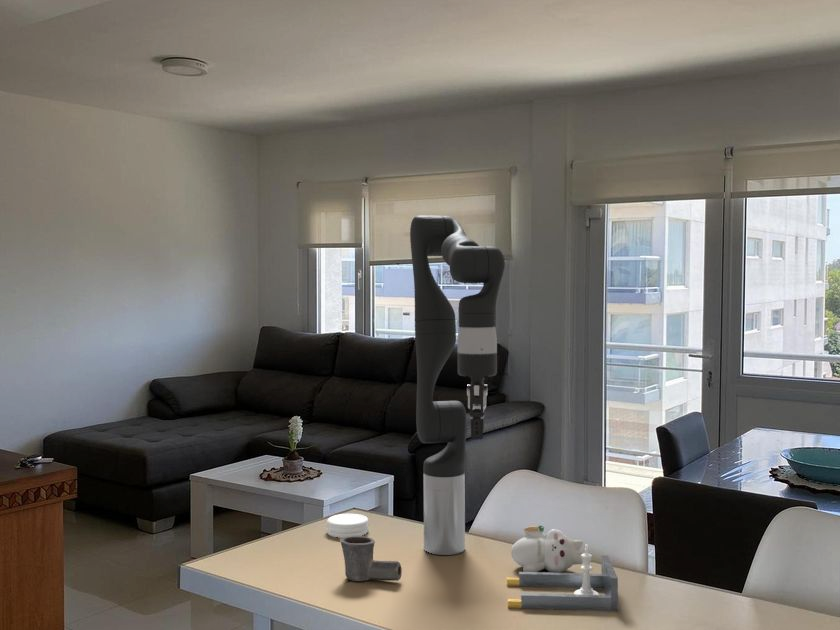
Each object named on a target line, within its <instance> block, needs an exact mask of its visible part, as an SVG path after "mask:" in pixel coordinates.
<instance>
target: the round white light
mask: <svg viewBox="0 0 840 630" xmlns="http://www.w3.org/2000/svg"><path fill="white" fill-rule="evenodd" d="M369 526H370V525H369V518H368V517H367V516H365V515H364V514H361V513H359V514H358V513H339V514H335V515H334V514H333V515H332V516H330V517H328V518H327V519H326V533H327V535H328V536H330V537H332V538H336V537H338V539H341V538H344V537H350V536H361V535H363V536H365V535H367V534H368V533H369ZM367 532H368V533H367ZM366 533H367V534H366ZM364 534H365V535H364Z"/></svg>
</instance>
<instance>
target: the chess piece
mask: <svg viewBox="0 0 840 630" xmlns="http://www.w3.org/2000/svg"><path fill="white" fill-rule="evenodd" d="M588 545H589V544H584V552H583V553H582V554H581V555H580V556H581V558H582V560H583V563H582V565H581V566H580V569H581V570H582V571H583V573H584V575H583V583H582V587H581V588H578V589H576V590H575V591H574V592H573V594H579V595H600V593H599V592H597V591H596V590H593V589H594V588H591V584H590V576H589V574H590V571H593V567H592V566H591V565H590V564H591V561H592V558H593V556H592V554H590V553H589V546H588Z"/></svg>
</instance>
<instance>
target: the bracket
mask: <svg viewBox="0 0 840 630" xmlns="http://www.w3.org/2000/svg"><path fill="white" fill-rule="evenodd" d="M518 575H519V576H518V577H512V576H511V577H510V576H509V577H508V576H507V577H506V586H509V587H512V586H513V587H538V588H540V587H543V588H545V587H547V588H576V589H580V588H581V587H582V583H583V575H584V572H583V573H581V572H575V573H574V572H558V573H552V572H549V571H547V572H546V571H542V572H541V571H538V572H524V571H518ZM589 576H590V584H591V588H592V589H602V591H603V594H604V595H603V594H599V595H579V594H574V593H573V594H570V593H545V592H544V593H543V592H542V593H541V592H540V593H539V592H520V598H519V599H518V598H507V609H527V610H528V609H532V610H534V609H535V610H560V611H561V610H565V611H589V612H590V611H593V612H594V611H596V612H601V611H602V612H618V611H619V610H618V609H619V604H618V603H619V602H618V601H619V596H618V595H619V594H618V593H619V583H618V581H619V579H618V576H617V573H616V571H615V569H614V567H613V564H612V562H611V560H610V558H609V555H601V573H589Z"/></svg>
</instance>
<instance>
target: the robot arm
mask: <svg viewBox="0 0 840 630" xmlns="http://www.w3.org/2000/svg"><path fill="white" fill-rule="evenodd" d="M409 229H410V231H409V242H410V253H411V261H412V262H411V263H412V273H413V285H414V286H413V287H414V288H413V289H414V290H413V291H414V339H415V340H414V341H415V353H416V373H417V375H416V377H417V379H416V406H415V407H416V408H415V409H416V410H415V412H416V413H415V415H416V417H415V418H416V419H415V421H416V422H415V423H416V432H417V437H418V440H419V441H420V442H421V443H422V444H443V443H447V444H446V446H445V447H444V448H443V449H442V450H441V451H439V452H438V453H435V454H433V455H431V456H429V457H427V458H426V459H425V460H424V461H423V470H422V471H423V551H424V552H426V551H427V553H428V552H429V553H428V554H431V553H432V554H433V555H437V556H452V555H458V554H461V553H463V552H464V551H465V549H466V544H465V543H466V507H465V506H466V503H465V501H466V500H465V499H466V493H465V492H466V491H465V490H466V488H465V487H466V486H465V483H466V482H465V474H466V473H465V467H466V466H465V465H466V445H467V444H466V443H467V441H466V440H467V411H466V408H465V406H464V403H463V402H461V401H459V400H438V401H437V400H435V401H434V400H433V398H434V391H435V387H436V383H437V380H438V378H439V375H440V373H441V371H442V369H443V367H444V365H445V364H446V362H447V361H448V359H449V358H450V356H451V354H452V352H453V351H454V348H455V345H456V342H457V375H459V376H461V377H466V378H467V377H469V378H470V384H467V386H466V396H467V409H469V413H468V414H469V418H470V437H471V439H472V440H483V437H484V421H485V419H484V418H485V410H486V408H487V396H488V392H489V391H488V390H489V388H488V384H485V381H486V379H485V377H486V378H488V377H494V376H496V375H497V373H498V340H497V339H498V338H497V337H498V336H497V331H496V329H497V328H496V305H497V299H498V294H499V289H500V287H501V283H502V279H503V276H504V272H505V266H506V261H505V256H504V254H503V252H502V251H501V249H500V248H498V247H497V246H493V245H491V246H490V245H489V246H488V245H485V246H480V245H479V244H478V243H477V242H476V241H474V239H471V238H470V237H468V236H467V234H466V232H465V231H464V229H463V227H462V225H461V223H460V222H459V221H458V219H456V218H454V217H452V216H449V215H415V216H414V217H413V218H412V220H411V222H410V228H409ZM428 257H441V258H442V259H443V261H444V262H445V263H446V264H447V265H448V267H449V272H450V273H449V274H450V277H451V278H452V279H453V280H454V281H455V282H457V283H461V284H483V285H482V288H481V290H480V291H479V292H478V293H476V294H472V295H467V296H463V297H461V298H460V299H459V302H458V332H457V326H456V323H457V322H456V314H455V309H454V308H453V306H452V304H451V302H450V301H449V299H448V298H447V296H446V295H445V293H444V292H443V290H442V289H441V288H440V286H439V284H438V283H437V281H436V280H435V277H434V276H433V273H432V270H431V268H430V267H431V266H430V263H429V258H428Z"/></svg>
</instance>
